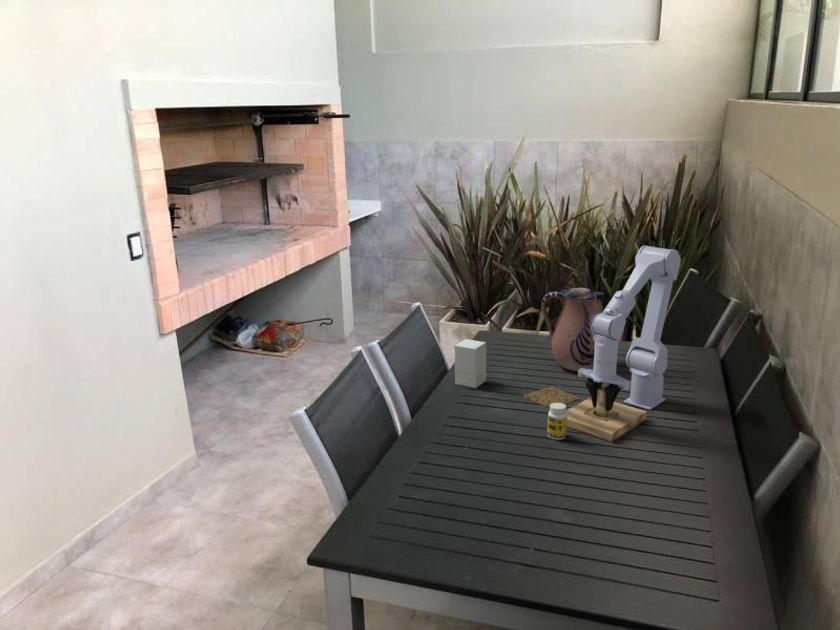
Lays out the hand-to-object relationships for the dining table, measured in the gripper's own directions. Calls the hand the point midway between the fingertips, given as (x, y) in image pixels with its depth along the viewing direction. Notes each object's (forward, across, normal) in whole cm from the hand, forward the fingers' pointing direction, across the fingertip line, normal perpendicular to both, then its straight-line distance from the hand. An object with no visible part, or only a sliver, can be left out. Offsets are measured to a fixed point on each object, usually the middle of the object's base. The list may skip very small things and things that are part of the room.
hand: (602, 408), depth 181 cm
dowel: (+3, 0, 0) cm, 3 cm away
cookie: (+5, -19, +5) cm, 20 cm away
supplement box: (+4, -44, -2) cm, 44 cm away
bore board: (+4, 0, 0) cm, 4 cm away
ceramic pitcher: (+4, -28, +30) cm, 41 cm away
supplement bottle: (+4, -4, -15) cm, 16 cm away
